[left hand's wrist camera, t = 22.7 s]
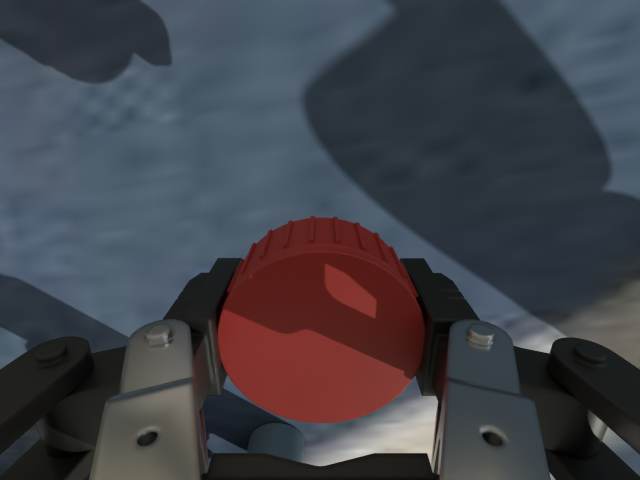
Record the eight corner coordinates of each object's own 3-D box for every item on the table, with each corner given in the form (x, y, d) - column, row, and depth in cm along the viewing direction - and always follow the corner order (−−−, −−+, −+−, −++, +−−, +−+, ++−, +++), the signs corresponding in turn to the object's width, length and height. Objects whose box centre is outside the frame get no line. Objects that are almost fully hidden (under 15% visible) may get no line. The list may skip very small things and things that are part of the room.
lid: (316, 175, 10) (315, 199, 8) (443, 293, 11) (474, 343, 9) (199, 299, 11) (170, 350, 9) (324, 390, 13) (325, 454, 10)
